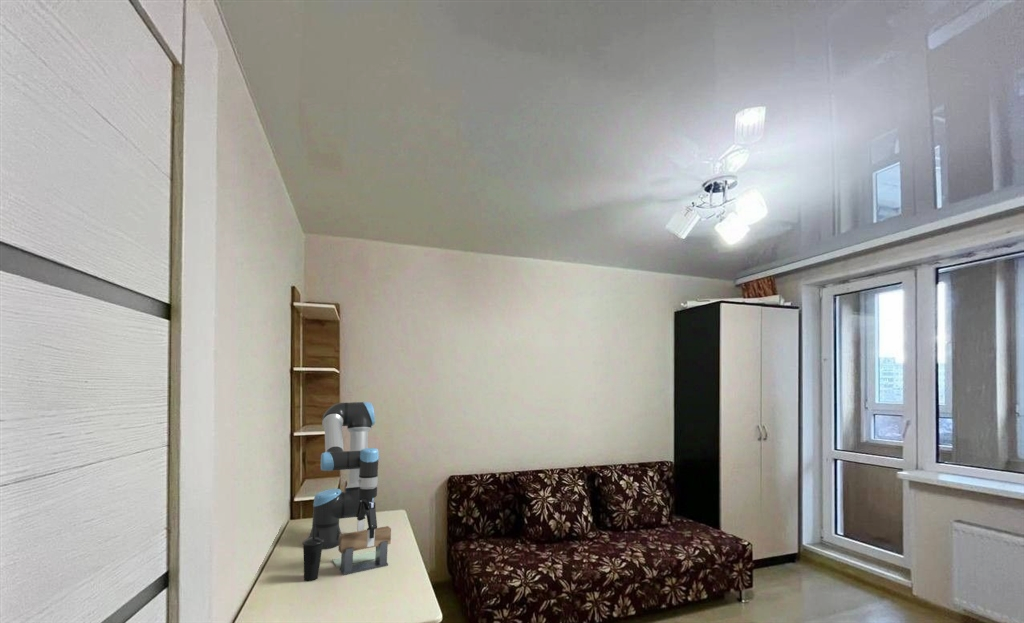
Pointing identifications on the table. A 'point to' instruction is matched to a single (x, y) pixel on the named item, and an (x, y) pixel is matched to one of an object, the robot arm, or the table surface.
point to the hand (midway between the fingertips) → (365, 541)
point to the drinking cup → (312, 556)
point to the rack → (349, 568)
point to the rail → (363, 539)
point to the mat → (357, 558)
